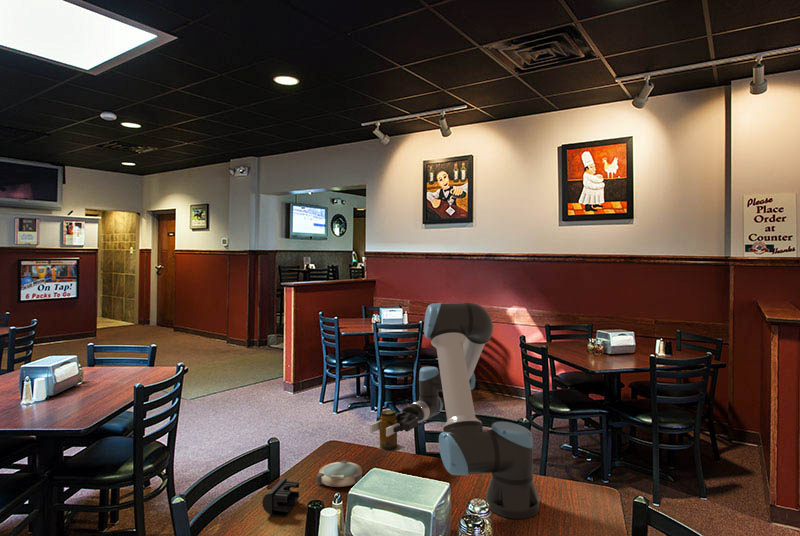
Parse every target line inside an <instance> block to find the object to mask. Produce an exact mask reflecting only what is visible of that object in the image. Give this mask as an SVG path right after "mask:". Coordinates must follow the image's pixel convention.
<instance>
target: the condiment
mask: <svg viewBox="0 0 800 536" xmlns="http://www.w3.org/2000/svg"><path fill="white" fill-rule="evenodd" d="M396 414H397V412H396V411H395V410H391V409H390V410H389V409H385V410H382V411H381V412H380V416H381V419H380V429H379V444H375V445H374V447H375V448H378V449H379V450H383V451H384V452H388V453H394V452H398V451H400V450H404V449H405V448H406V447H405V446H403V445H400V444H398V432H396V433H394V434H392V435H390V436H388V437H387V436H386V428H387V427H390V426H392V425H394V424H396V423H397V420H396Z"/></svg>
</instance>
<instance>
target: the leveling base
mask: <svg viewBox="0 0 800 536" xmlns="http://www.w3.org/2000/svg"><path fill="white" fill-rule="evenodd" d="M362 477H363V469H362V467H361V466H360V465H359V464H357V463H355V462H350V461H348V460H343V459H342V460H341V461H335V462H331V463H327V464H325V465H323V466H322V467H321V468H320V469H319V471H318V473H317V474H316V485H318V486H323V485H325V486H329V487H332V488H333V487H336V488H341V487H343V488H344V487H348V486H352V485H353V486H354V484H355V483H357V481H359V480H360V479H361V480H362Z"/></svg>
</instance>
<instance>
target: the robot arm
mask: <svg viewBox="0 0 800 536" xmlns="http://www.w3.org/2000/svg"><path fill="white" fill-rule="evenodd" d="M423 323H424V324H423V334H424V335H423V336H424V338H425V339H428V340H429V339H430V344H431V346H433V348H435V349H436V352H437V359H438V360H437V361H438V367H436V366H430V365H429V366H422V367H421V368H420V369H419V374H418V375H419V377H418V386H419V391H418V392H419V398H418V400H417V401H415V402H412V403H411V404H409V405H406V406H404V408H403V409H402V411H400V412H398V413H397V412H396V420H397V423H396V424H394V425H392V426H390V427H387V428H386V436H387V437H388V436H390V435H392V434H394V433H396V432H397V433H398V432H409V431H411V430H413V429H414V428H416V427H418V426H420V425H421V426H422V424H423V423H422V422H424V421H427V420H428V419H431V418H433V417H435V416H437V415H438V414H439V413H440V412H437V411H441V412H442V411H443V407H444V408H445V415H446V422H445V424H444V425H443V426H442V429H443V431H442V432H440V433H439V435H438V444H439V445H438V449H439V454H440V458H441V460H442V464H443V467H444V468H445V470H446V471H447V473H449V474H450V475H451V476H463V477H465V476H468V475H469V476H470V475H479V474H491V479H490V481H489V484H488V487H487V490H486V493H485V494H486V495H485V503H486V502H488V503H489V505H490V507H491V510H490V511H491V512H492V513H494V514H495V515H498V516H501V517H503V518H507V519H515V520H523V519H529V518H532V517H534V516H536V515H538V513H539V511H540V498H539V495H538V493H537V489H536V487H535V483H534V442H533V434H532V432H531V431H530V429H528V428H526V427H525V426H523V425H520V424H517V423H513V422H509V421H495V422H493V423H492V424H491V427H490V428H491V429H484V428H483V422H482V421H481V420H480V419H478V418H477V417H476V413H475V412H476V411H475V406H474V401H473V395H472V390H474V388H475V387H476V375H475V373H474V371H475V369H476V366H477V364H478V361H479V360H480V357H481V354H482V352H483V350H484V347H485V345H486V344H488V343H489V342H490V340H491V338H492V335H493V332H494V324H493V319H492V317H491V315H490V313H489V312H488V311H487V310H486V309H485V308H484V307H483V306H481V305H480V304H478V303H475V302H444V303H443V302H438V303H431V304H429V305H428V306H427V308H426V310H425V314H424V322H423ZM439 392H442V395H443V401H444V402H443V401H442V399H441V397H440V396H439ZM421 407H422V408H421ZM380 419H381V415H380V416H378V417H376V422H373V423H370V424H369V433H374V432H377V431H380Z"/></svg>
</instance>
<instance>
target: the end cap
mask: <svg viewBox="0 0 800 536" xmlns="http://www.w3.org/2000/svg"><path fill="white" fill-rule="evenodd" d="M291 488H295V489H299V488H300V482H299V481H288V478H287V477H283V478H281V479H280V480H278V482H276V484H275V485H274V486H273V487H271V488H270V490H269V491H268V492H267V493H266V494H265V495H264V497H262V502H261V505H262V508H263V510H264V511H265V513H267V514H268V515H270V516H271V517H274V518H275V517H276V518H278V517H279V518H288V516H289V515H290V514H291V513H292V512H293V510H294V509H295V507H296V506H297V505H298V504H299V497H300V491H295V490H291Z"/></svg>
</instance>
